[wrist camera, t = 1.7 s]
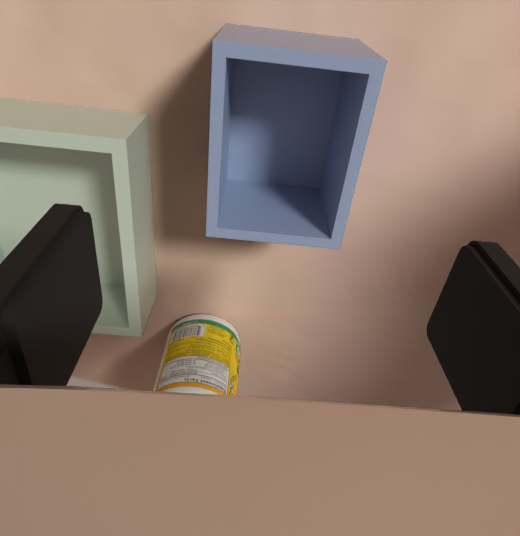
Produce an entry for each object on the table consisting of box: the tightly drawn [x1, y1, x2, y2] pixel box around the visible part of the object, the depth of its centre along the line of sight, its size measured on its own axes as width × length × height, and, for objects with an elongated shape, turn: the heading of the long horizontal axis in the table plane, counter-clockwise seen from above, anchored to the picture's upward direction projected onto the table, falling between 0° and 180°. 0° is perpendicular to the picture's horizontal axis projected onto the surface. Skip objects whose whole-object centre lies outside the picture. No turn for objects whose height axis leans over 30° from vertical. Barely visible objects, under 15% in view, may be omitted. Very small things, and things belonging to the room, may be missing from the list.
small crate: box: [206, 23, 387, 250], centre depth 20 cm, size 6×8×6 cm
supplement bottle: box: [153, 314, 241, 396], centre depth 27 cm, size 5×5×10 cm
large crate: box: [0, 98, 157, 337], centre depth 24 cm, size 10×12×4 cm
